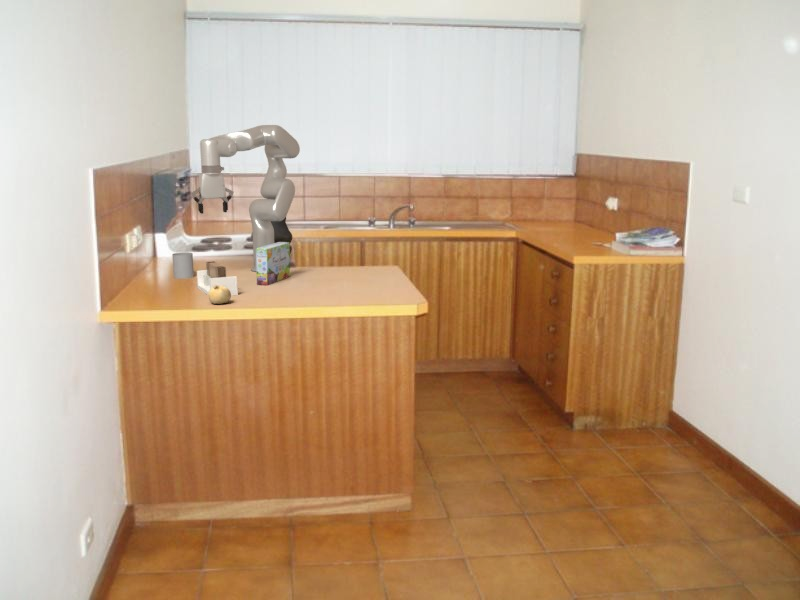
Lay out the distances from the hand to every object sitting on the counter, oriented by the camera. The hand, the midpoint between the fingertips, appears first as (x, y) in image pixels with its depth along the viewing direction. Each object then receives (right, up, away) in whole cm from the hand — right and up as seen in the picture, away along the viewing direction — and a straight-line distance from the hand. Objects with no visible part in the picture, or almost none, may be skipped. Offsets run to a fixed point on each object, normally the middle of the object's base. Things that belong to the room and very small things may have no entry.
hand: (213, 212), depth 318 cm
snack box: (+24, -28, +6) cm, 37 cm away
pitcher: (+12, -13, +75) cm, 77 cm away
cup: (-16, -26, +15) cm, 34 cm away
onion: (+11, -37, -37) cm, 54 cm away
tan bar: (+5, -27, -17) cm, 32 cm away
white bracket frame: (+5, -32, -16) cm, 36 cm away
